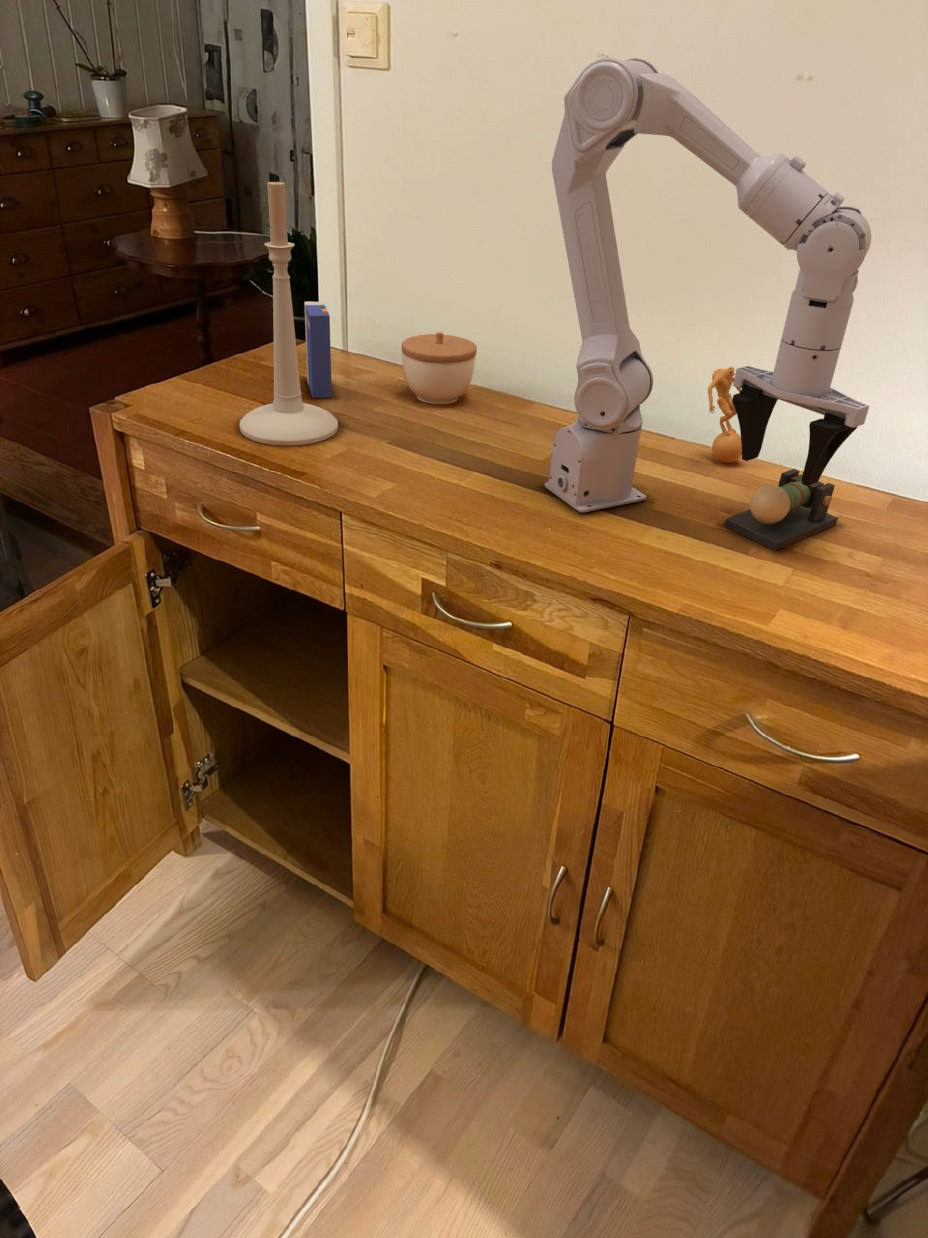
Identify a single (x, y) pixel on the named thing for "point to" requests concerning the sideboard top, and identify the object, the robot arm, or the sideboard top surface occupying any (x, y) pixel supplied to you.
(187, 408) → the sideboard top surface
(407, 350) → the trinket box
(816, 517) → the toy stand
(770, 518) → the peg doll
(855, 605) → the sideboard top surface
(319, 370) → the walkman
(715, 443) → the figurine
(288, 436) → the candlestick
